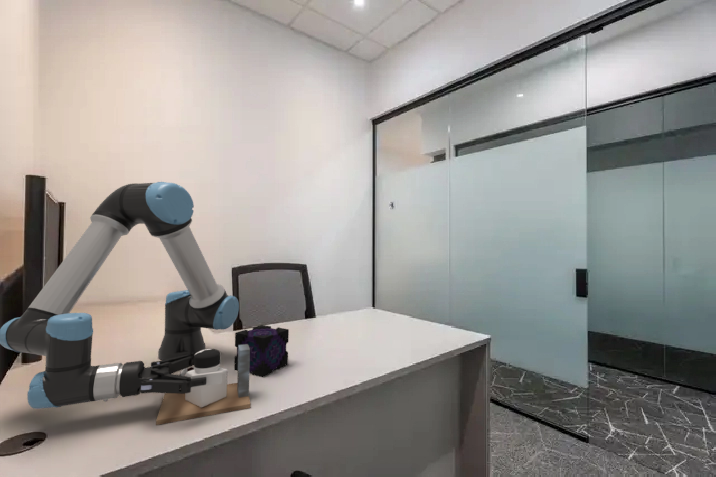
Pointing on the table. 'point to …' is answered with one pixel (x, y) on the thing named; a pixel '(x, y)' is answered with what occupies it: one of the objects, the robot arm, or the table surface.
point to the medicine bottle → (205, 364)
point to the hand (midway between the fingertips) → (221, 367)
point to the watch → (186, 371)
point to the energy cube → (264, 349)
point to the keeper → (236, 399)
